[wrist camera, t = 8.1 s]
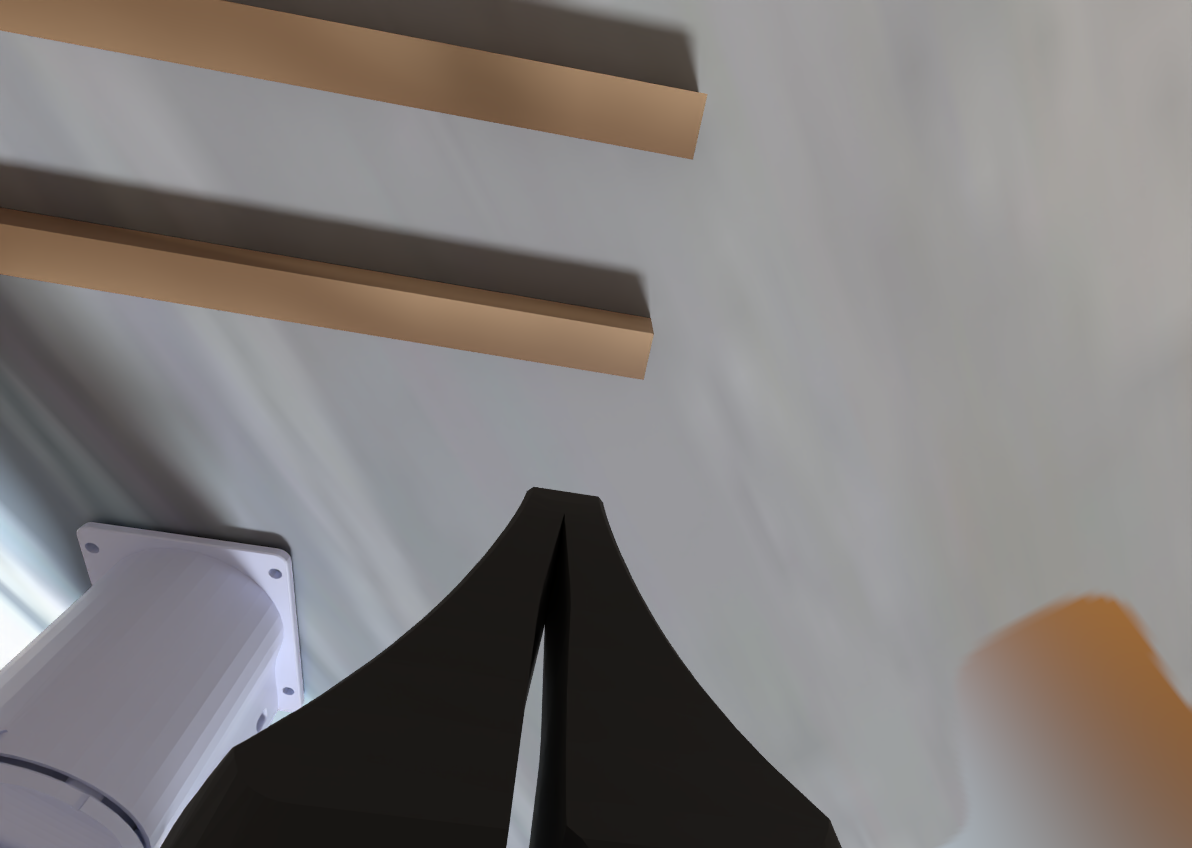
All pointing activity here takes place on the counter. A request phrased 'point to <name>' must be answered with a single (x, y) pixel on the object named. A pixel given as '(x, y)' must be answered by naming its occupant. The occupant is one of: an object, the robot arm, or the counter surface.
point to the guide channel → (373, 71)
